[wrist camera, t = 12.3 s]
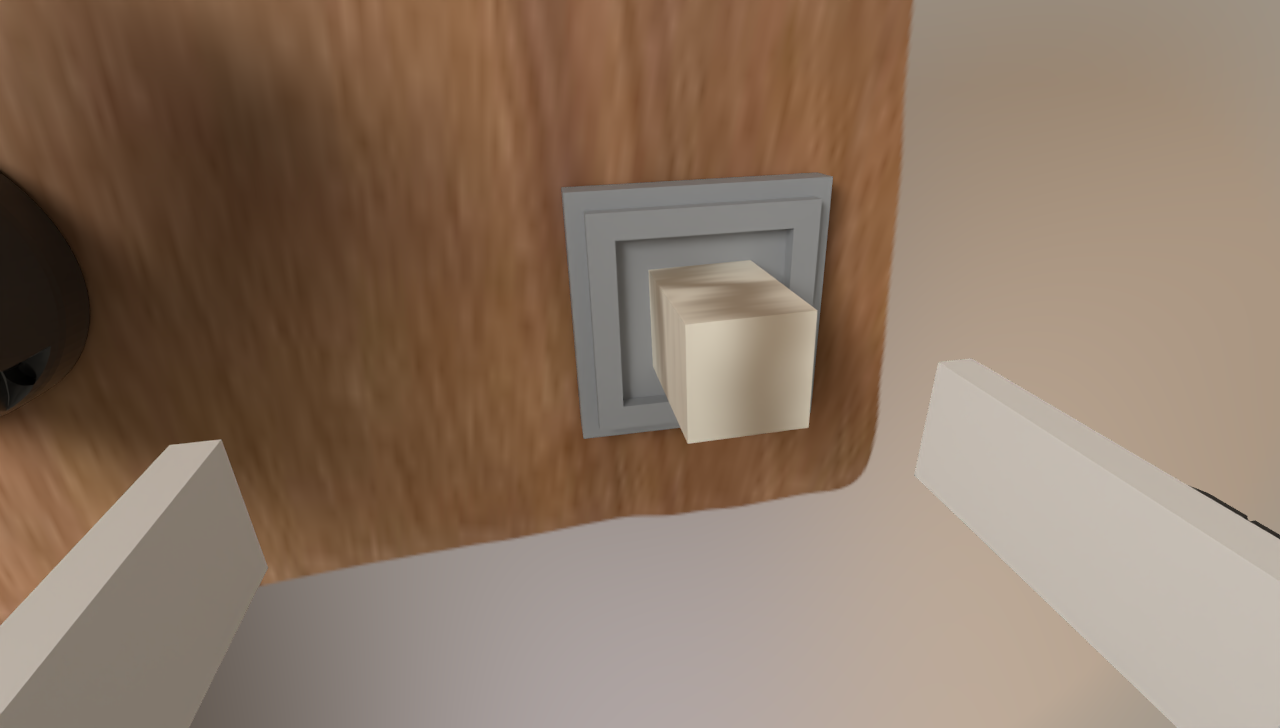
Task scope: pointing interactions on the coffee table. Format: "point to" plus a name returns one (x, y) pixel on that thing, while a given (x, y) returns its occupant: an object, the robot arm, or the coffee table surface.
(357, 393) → the coffee table surface
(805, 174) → the slate plinth
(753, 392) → the birch block
